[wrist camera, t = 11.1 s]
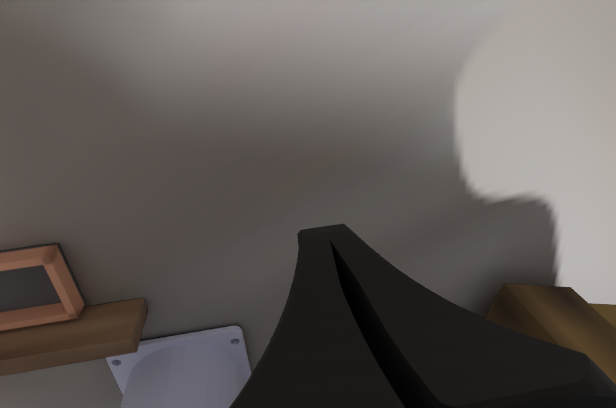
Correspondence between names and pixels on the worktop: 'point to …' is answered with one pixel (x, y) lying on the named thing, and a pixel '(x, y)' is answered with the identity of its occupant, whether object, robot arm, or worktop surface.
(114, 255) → the worktop surface
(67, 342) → the wooden tray
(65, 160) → the worktop surface
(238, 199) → the worktop surface
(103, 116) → the worktop surface
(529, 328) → the crate
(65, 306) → the trap pits
